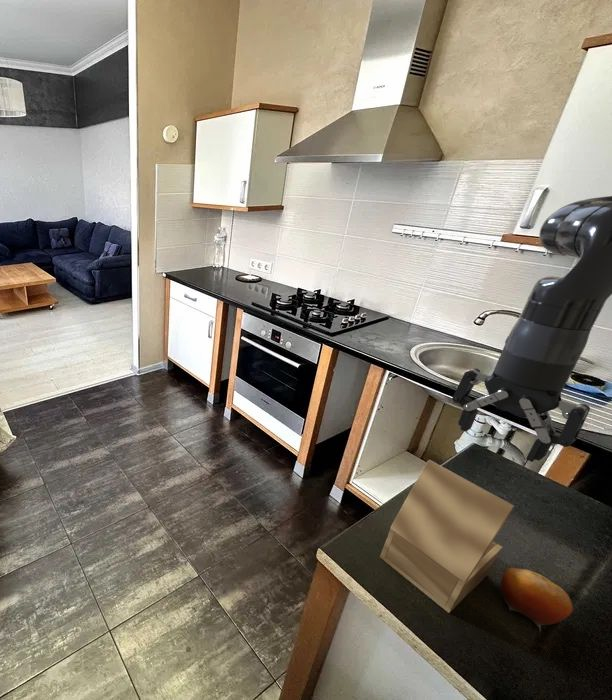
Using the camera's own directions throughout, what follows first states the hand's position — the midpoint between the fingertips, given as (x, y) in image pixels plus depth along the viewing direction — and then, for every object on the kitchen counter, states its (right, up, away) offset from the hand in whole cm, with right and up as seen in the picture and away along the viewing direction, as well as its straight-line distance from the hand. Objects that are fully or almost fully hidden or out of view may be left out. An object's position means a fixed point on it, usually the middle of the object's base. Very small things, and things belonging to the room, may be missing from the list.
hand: (496, 443), depth 60 cm
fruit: (+7, -28, +3) cm, 29 cm away
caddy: (-3, -25, +9) cm, 27 cm away
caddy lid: (-6, -13, +2) cm, 14 cm away
